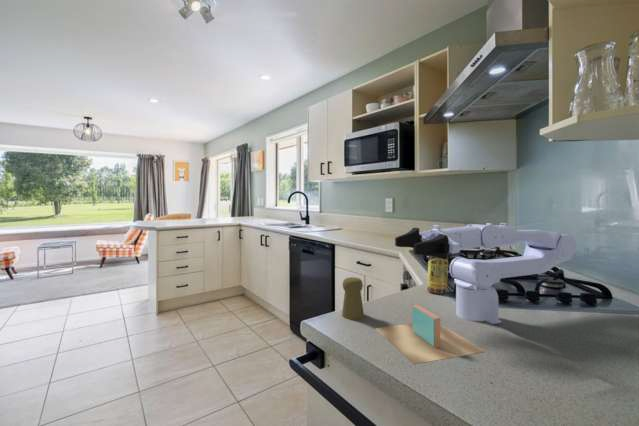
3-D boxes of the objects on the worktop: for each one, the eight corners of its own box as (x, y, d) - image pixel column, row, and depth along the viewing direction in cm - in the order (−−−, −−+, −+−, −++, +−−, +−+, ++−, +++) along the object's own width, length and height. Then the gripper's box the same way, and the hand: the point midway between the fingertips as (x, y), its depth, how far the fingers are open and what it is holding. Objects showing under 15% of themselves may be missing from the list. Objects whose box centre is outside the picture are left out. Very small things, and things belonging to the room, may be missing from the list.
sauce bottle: (429, 294, 97) (429, 234, 97) (425, 289, 104) (425, 232, 103) (450, 295, 96) (450, 234, 96) (445, 289, 103) (445, 232, 102)
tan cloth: (434, 325, 73) (434, 320, 73) (486, 357, 58) (486, 351, 58) (375, 333, 69) (375, 328, 69) (413, 370, 54) (413, 364, 54)
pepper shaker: (364, 325, 74) (363, 281, 73) (339, 323, 75) (339, 280, 75) (365, 316, 80) (364, 275, 79) (342, 314, 81) (342, 274, 80)
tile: (417, 330, 67) (417, 304, 67) (440, 347, 60) (440, 317, 59) (412, 331, 67) (412, 305, 67) (434, 348, 59) (434, 318, 59)
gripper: (433, 219, 80) (388, 224, 76) (476, 228, 66) (424, 234, 62) (432, 245, 81) (388, 250, 77) (475, 259, 67) (424, 267, 63)
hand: (404, 245), depth 69 cm, fingers open, 7 cm apart
